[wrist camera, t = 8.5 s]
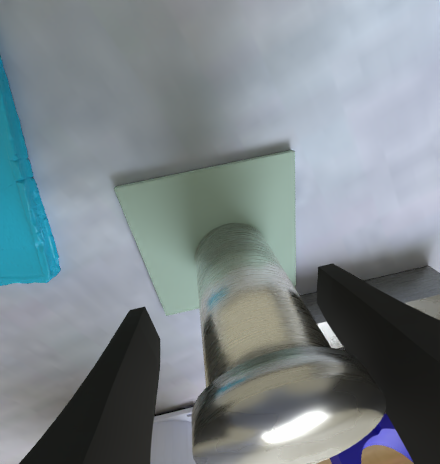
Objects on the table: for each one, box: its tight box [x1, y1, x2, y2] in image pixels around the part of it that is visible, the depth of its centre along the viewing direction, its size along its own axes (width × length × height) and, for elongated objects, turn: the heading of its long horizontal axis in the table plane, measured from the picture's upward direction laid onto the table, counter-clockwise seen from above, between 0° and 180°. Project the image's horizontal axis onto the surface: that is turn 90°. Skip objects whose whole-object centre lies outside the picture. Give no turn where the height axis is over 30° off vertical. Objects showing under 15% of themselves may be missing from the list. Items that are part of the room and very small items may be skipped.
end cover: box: [191, 223, 386, 464], centre depth 10 cm, size 5×5×9 cm
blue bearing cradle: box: [330, 414, 413, 464], centre depth 28 cm, size 12×4×6 cm, turn 92°
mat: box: [114, 150, 296, 316], centre depth 14 cm, size 9×9×1 cm
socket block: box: [300, 266, 440, 349], centre depth 19 cm, size 12×12×2 cm
